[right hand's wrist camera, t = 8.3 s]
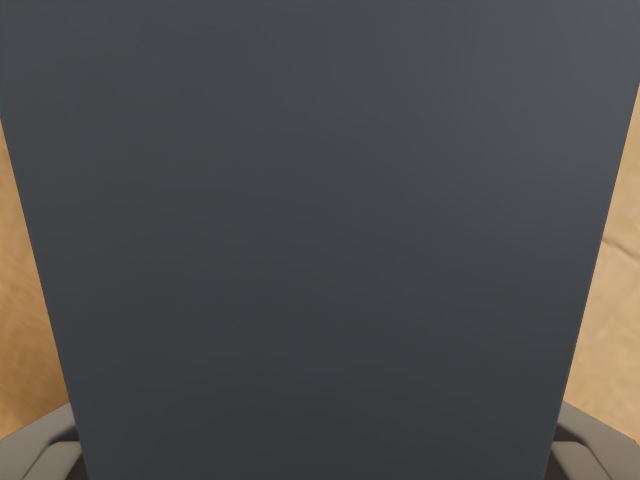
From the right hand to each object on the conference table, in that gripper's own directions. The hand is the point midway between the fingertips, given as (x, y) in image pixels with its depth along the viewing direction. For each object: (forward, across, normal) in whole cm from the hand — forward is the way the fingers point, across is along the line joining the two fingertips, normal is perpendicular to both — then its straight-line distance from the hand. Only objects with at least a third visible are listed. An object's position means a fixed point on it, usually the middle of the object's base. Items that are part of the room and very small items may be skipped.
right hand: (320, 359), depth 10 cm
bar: (+4, 0, +8) cm, 9 cm away
